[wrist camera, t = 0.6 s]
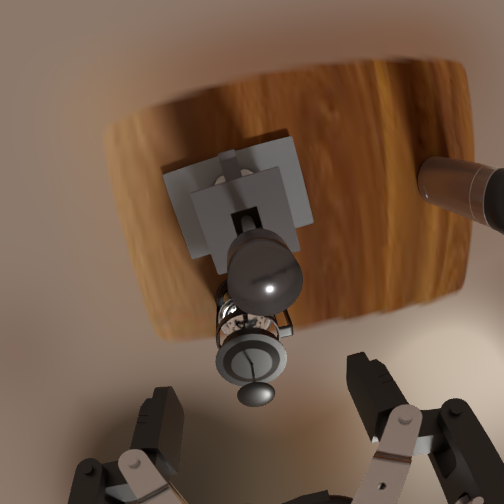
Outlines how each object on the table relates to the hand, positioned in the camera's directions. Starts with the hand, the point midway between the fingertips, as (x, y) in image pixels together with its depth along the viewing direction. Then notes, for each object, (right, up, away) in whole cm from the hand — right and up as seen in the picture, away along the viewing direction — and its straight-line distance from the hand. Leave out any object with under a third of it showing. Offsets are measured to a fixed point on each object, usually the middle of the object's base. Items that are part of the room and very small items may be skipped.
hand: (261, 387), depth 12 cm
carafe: (-3, +15, +32) cm, 35 cm away
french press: (-1, -2, +39) cm, 40 cm away
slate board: (-2, +14, +33) cm, 36 cm away
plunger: (-1, +9, +19) cm, 21 cm away
